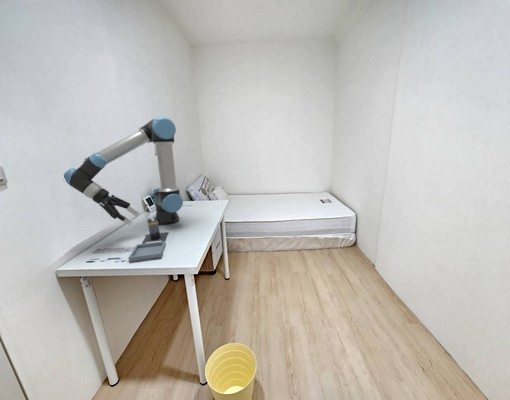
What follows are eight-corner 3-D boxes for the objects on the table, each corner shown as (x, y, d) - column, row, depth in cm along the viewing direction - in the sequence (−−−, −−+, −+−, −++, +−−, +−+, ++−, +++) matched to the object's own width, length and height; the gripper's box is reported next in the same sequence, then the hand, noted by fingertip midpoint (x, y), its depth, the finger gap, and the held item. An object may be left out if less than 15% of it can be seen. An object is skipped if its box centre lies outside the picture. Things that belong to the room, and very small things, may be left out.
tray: (137, 249, 117) (136, 244, 116) (165, 245, 120) (165, 241, 119) (129, 262, 104) (128, 257, 104) (161, 258, 107) (160, 253, 106)
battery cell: (151, 236, 130) (148, 217, 127) (161, 235, 131) (158, 216, 128) (149, 240, 125) (146, 220, 122) (159, 239, 126) (156, 219, 123)
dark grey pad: (147, 235, 134) (146, 234, 133) (169, 232, 136) (168, 231, 136) (140, 246, 120) (140, 244, 120) (165, 243, 123) (165, 241, 122)
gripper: (102, 193, 128) (136, 216, 135) (79, 205, 104) (122, 233, 111) (111, 183, 127) (145, 206, 134) (90, 193, 104) (132, 221, 111)
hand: (134, 218), depth 123 cm, fingers open, 13 cm apart
